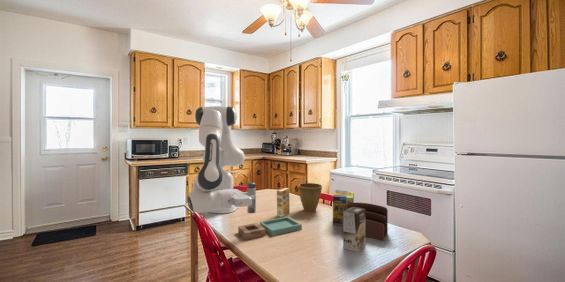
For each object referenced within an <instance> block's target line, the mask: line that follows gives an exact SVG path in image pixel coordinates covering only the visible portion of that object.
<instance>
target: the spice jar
mask: <svg viewBox="0 0 565 282" xmlns="http://www.w3.org/2000/svg"><path fill="white" fill-rule="evenodd" d="M246 185H247V186H246V188H247V190H246V191H247V195H248V196H251V195H256V196H257V193H256V191H257V190H256V187H257V186H256V185H257V184H256V182H246ZM256 199H257V198H256ZM256 199H252V205H250V206H246V208H247V210H246V211H247V214H255V213H256V212H257V209H256V207H257V205H256Z"/></svg>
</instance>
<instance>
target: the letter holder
mask: <svg viewBox="0 0 565 282" xmlns="http://www.w3.org/2000/svg"><path fill="white" fill-rule="evenodd" d="M351 207H358V208H363V209H366V218H365V239H370V240H377V241H381V242H385V240H386V238H387V237H388V230H389V229H388V227H389V226H388V217H389V216H388V210H389V209H388V208H387V207H386V206H382V205H378V204H373V203H367V202H355V201H354V202H349V203H347V209H349V208H351ZM341 234H343V218H342V226H341Z"/></svg>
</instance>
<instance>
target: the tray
mask: <svg viewBox="0 0 565 282" xmlns="http://www.w3.org/2000/svg"><path fill="white" fill-rule="evenodd" d="M259 225H260V226H262V227H263V228H264V229H265V233H267V234H269V235H270V236H271V237H273V235H274V236H278V235H281V234H286V233H291V232H296V231H300V230H302V229H303V228H302V227H303V226H302V225H303V224H302V223H301V222H298V221H297V220H294V219H293V218H292V217H289V216H283V217H279V218H273V219H268V220H263V221H259Z"/></svg>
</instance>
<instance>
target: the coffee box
mask: <svg viewBox="0 0 565 282" xmlns="http://www.w3.org/2000/svg"><path fill="white" fill-rule="evenodd" d="M365 218H366V209H363V208H358V207H351V208H349V209H346V210H344V217H343V233H342V234H343V235H342V241H343V242H342V243H343V244H342V248H343V249H347V250H349V251H353V252H359V251H360V250H361V249H362V248H363V247H364V246H365V245H366V238H365Z"/></svg>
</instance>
